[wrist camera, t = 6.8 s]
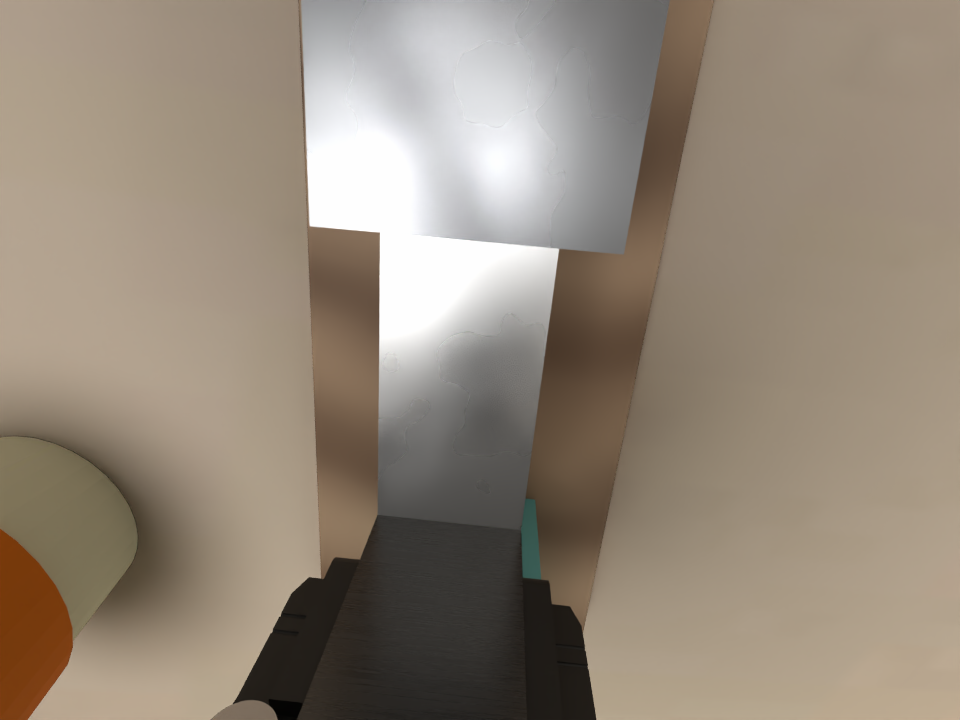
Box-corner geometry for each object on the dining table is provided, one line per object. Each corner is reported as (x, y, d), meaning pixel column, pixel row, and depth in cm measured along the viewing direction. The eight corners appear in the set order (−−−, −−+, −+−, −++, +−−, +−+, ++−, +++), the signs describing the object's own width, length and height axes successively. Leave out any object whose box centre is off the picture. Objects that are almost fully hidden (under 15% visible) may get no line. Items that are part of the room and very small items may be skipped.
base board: (310, -209, 14) (288, -252, 13) (734, -181, 14) (759, -221, 12) (333, 581, 24) (322, 606, 23) (578, 608, 24) (582, 634, 23)
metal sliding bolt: (417, 95, 13) (193, -101, 4) (562, 107, 13) (688, -63, 4) (400, 593, 19) (298, 985, 10) (499, 604, 19) (489, 1010, 10)
